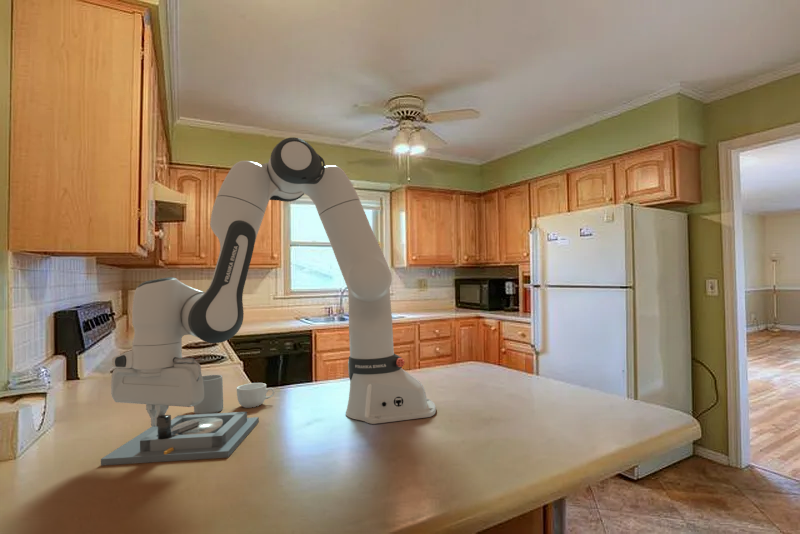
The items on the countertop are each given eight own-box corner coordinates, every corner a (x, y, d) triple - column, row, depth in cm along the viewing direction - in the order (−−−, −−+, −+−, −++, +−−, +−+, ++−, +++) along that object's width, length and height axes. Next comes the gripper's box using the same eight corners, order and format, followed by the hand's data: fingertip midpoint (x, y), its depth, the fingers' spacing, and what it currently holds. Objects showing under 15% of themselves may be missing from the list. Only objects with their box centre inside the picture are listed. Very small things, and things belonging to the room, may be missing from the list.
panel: (258, 422, 105) (258, 407, 105) (228, 457, 84) (227, 439, 84) (157, 428, 104) (157, 413, 104) (100, 465, 83) (100, 447, 83)
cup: (213, 415, 112) (212, 380, 112) (178, 415, 113) (177, 381, 114) (228, 407, 119) (227, 374, 120) (195, 407, 121) (194, 375, 121)
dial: (200, 424, 100) (200, 397, 101) (233, 428, 96) (232, 400, 97) (142, 447, 88) (141, 416, 88) (177, 453, 83) (176, 420, 84)
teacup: (234, 411, 115) (233, 390, 116) (240, 403, 123) (239, 384, 123) (273, 407, 117) (272, 387, 117) (276, 400, 125) (275, 381, 125)
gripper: (211, 355, 88) (211, 424, 88) (132, 353, 94) (132, 418, 93) (188, 361, 82) (188, 434, 82) (105, 358, 88) (104, 427, 87)
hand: (157, 425), depth 88 cm, fingers closed
